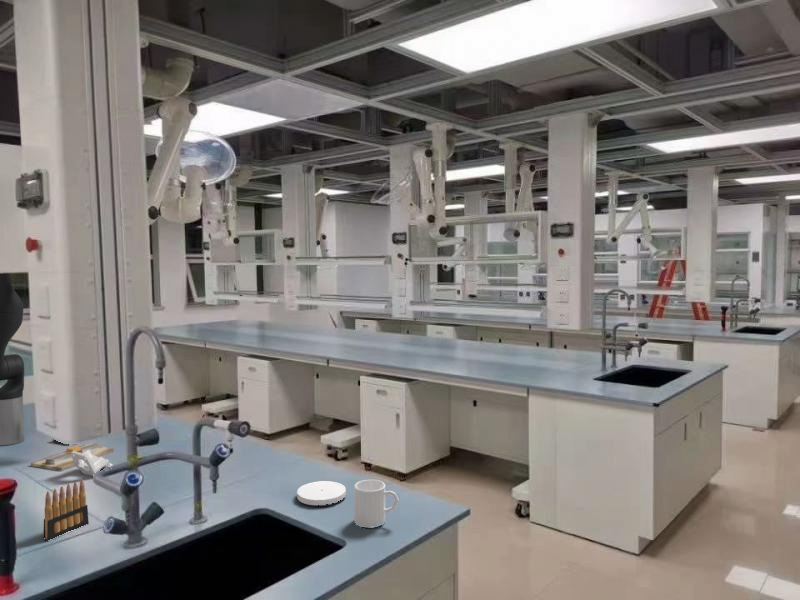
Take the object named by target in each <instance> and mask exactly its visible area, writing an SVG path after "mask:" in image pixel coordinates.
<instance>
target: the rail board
mask: <svg viewBox="0 0 800 600" xmlns="http://www.w3.org/2000/svg"><path fill="white" fill-rule="evenodd" d="M78 447H80V448H81V450H80V451H77V452H80V453H84V452H85V451H87V450H90V452H91V453H92V455H94V456H97V457H103V456H105V455H108V454H110V453H113V452H114V451H115V449H114V448H111V447H105V446H100V444H99V443H93V442H90V443H88V444H82V445H78ZM73 466H74V467H76V466H75V464H74V461H73V458H72V455H71V452H67V451H66V450H65V451H62V452H59V453H58V452H57V453H56V454H53V455H50V456H47V457H44V458H41V459H38V460H36V461H33V462H30V467H35V468H40V469H46V468H47V469H48V470H53V469H55V470H54V471H59V470H63V471H65V470H64V469H66V470H68V469H70V467H71V468H74V467H73ZM67 468H68V469H67Z"/></svg>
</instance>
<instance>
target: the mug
mask: <svg viewBox="0 0 800 600" xmlns="http://www.w3.org/2000/svg"><path fill="white" fill-rule="evenodd" d="M353 487H354V488H353V489H354V490H353V493H354V494H353V498H354V499H353V502H354V503H353V504H354V505H353V507H354V508H353V509H354V510H353V511H354V514H353V517H354V519H353V520H354V521H355V522H354V521H353V522H354V524H355V523H357V524H358V525H360V526H365V527H370V526H377V525H380V524H382V523H383V522H384V521H385V522H386V520H385V518H386V514H387V513H390V512H392V511H395V509H396V508H397V505H398V503H399V501H400V499H399V496H398V495H397V493H396V492H394V491H392V490H386V484H385V483H384V481H382V480H379V479H363V480H362V479H361V480H359V481H357V482H356V483H354V486H353ZM386 496H391V497H392V498H393V500H394V501H393V503H392V506H390V507H388V508H387V507H386Z"/></svg>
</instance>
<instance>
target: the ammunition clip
mask: <svg viewBox="0 0 800 600" xmlns="http://www.w3.org/2000/svg"><path fill="white" fill-rule="evenodd" d="M44 498H45V500H44V501H45V502H44V503H45V504H44V519H43V539H44V538H45V539H46V540H50V539H53V538H55V537H57V536H59V535H62V534H64V533H66V532H68V531H71V530H74V529H76V530H78V529H80V528H82V527H81V526H83V527H85V526H86V524H87V525H90V524H89V522H90V521H89V510H88V508H89V507H88V504H87V494H86V488H85V482H84V480H83V479H82V478H81V479H80V482H79V487H78V483H77V481H74V482H73V485H72V487H71V484H70V483H68V484H67V485H66V491H65V489H64V487H63V486H62V485H61V486H60V489H59V494H58V491H57V489H56V488H54V489H53V491H52V496H51V494H50V491H47V492H46V493H45V497H44ZM84 525H85V526H84ZM79 527H80V528H79ZM77 528H78V529H77ZM74 531H75V530H74ZM71 532H72V531H71ZM64 535H65V534H64ZM62 536H63V535H62ZM55 539H56V538H55ZM46 540H45V541H46ZM53 540H54V539H53Z"/></svg>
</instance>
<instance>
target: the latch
mask: <svg viewBox="0 0 800 600" xmlns="http://www.w3.org/2000/svg"><path fill="white" fill-rule="evenodd" d="M80 450H81V448H80V447H79V446H76V445H72V446H69V447H67V448H66V450H65V451H67V452H72V451H80Z"/></svg>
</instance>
